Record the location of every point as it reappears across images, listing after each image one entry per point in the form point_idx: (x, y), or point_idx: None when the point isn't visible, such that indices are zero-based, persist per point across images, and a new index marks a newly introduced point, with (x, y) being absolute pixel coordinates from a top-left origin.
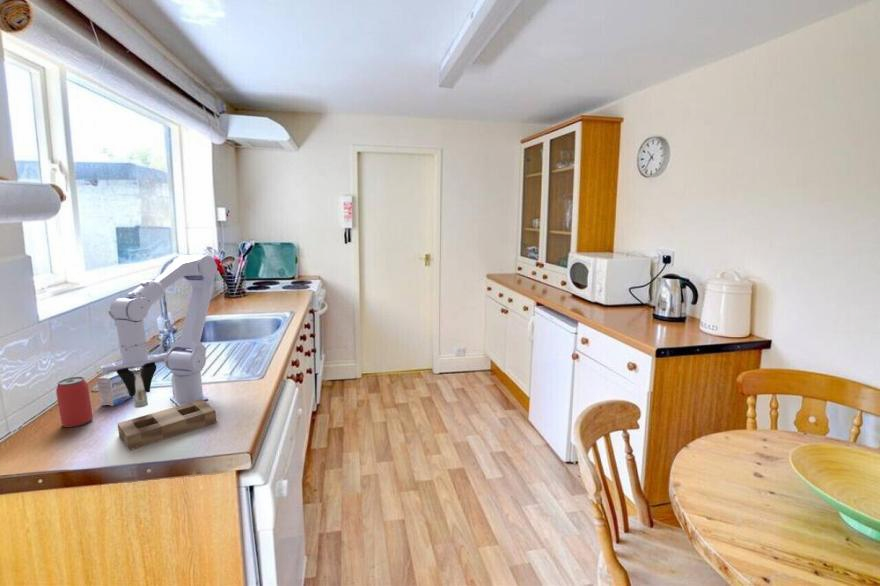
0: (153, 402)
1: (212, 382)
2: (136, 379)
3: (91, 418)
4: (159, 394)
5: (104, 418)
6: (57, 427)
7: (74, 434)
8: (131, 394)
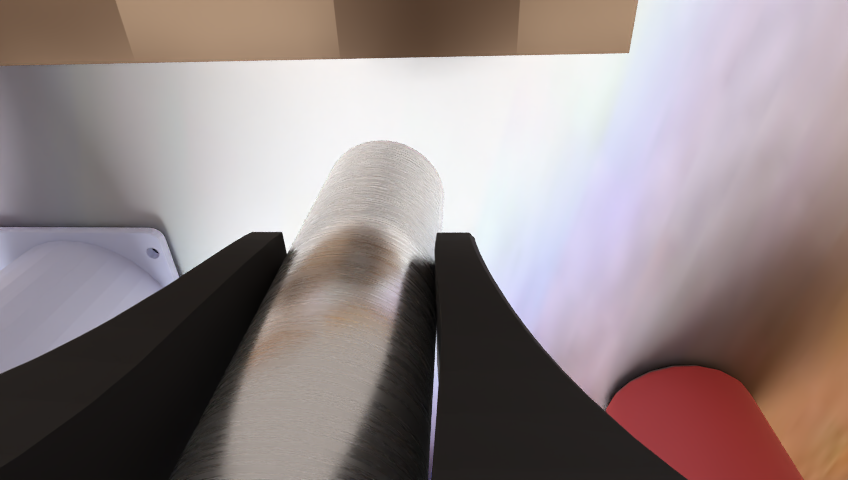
0: None
1: None
2: (336, 404)
3: (621, 393)
4: None
5: None
6: None
7: (760, 277)
8: (467, 239)
